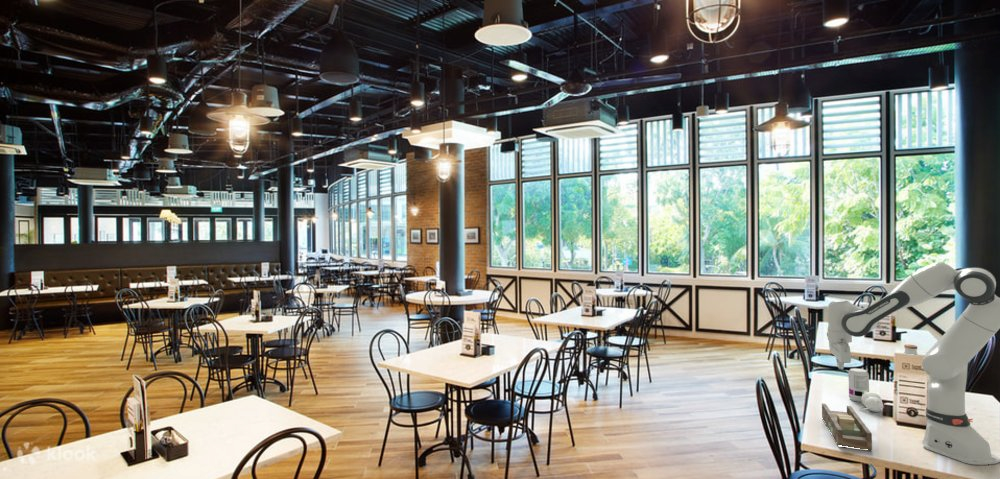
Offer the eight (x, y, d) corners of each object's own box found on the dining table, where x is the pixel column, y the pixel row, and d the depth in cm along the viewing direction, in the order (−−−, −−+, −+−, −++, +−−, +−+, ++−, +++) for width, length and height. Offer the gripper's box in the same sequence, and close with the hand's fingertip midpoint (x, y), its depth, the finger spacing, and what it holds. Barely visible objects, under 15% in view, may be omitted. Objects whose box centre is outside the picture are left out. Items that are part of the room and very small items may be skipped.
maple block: (837, 423, 211) (837, 414, 211) (851, 425, 209) (851, 415, 209) (839, 428, 206) (839, 418, 206) (854, 429, 204) (854, 419, 204)
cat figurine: (877, 394, 230) (872, 385, 240) (854, 404, 234) (849, 395, 244) (890, 411, 228) (884, 402, 238) (866, 420, 232) (861, 411, 243)
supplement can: (845, 399, 251) (844, 369, 251) (855, 396, 254) (854, 367, 254) (862, 403, 244) (862, 373, 243) (872, 401, 247) (872, 370, 247)
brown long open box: (822, 418, 227) (821, 403, 227) (851, 421, 222) (850, 405, 222) (838, 447, 197) (838, 429, 197) (872, 451, 193) (871, 433, 193)
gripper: (854, 342, 209) (855, 375, 209) (842, 332, 228) (842, 362, 228) (837, 341, 211) (837, 374, 211) (825, 332, 230) (826, 362, 230)
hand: (840, 368), depth 220 cm, fingers closed
